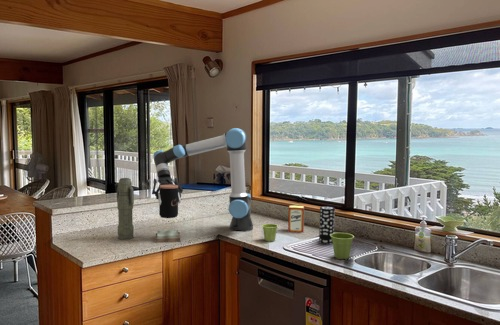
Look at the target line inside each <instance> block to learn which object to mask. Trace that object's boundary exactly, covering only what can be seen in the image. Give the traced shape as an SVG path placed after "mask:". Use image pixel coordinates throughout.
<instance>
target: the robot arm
mask: <svg viewBox="0 0 500 325" xmlns="http://www.w3.org/2000/svg"><path fill="white" fill-rule="evenodd" d="M247 141H248V135H247V132H246V131H245V130H244V129H242V128H239V127H238V128H237V127H234V128H231V129H229V130H228V131H227V132H224V133H223V134H222V135H219V136H214V137H211V138H207V139H203V140H199V141H195V142H191V143H187V144H182V145H181V144H177V145H175V146H173V147H171V148H169V149H167V150H162V149H160V150H155V152H154V153H153V162H154V165H155V170H156V176H157V179H156V178H153V180H152V182H153V186H152V191H151V194H152V195H154V196H155V199H156V200H157V201H158V205H161V198H160V193H159V191H160V185H169V184H170V185H178V188H177V189H178V204H181V201H182V200H181V197H182V193H183V191H184V190H183V187H182V186H181V184H180V183H179V181H178V179H177V178H176V177H174V178H172V176H171V171H170V169H169V168H170V167H169V163H172V162H174V161H176V160H178V159H181V158H182V159H183V158H186V157H190V156H194V155H199V154H202V153H206V152H211V151H214V150H218V149H223V148H226V152H228V153H229V165H230V166H229V167H230V185H231V186H230V189H231V190H230V191H231V192H230V194H229V195H228V198H229V199H228V200H229V203H228V204H229V205H228V213H229V214H230V215H231V216H232V217H231V220H230V223H229V229H230V230H231V229H233V230H232V231H235V230H241V231H240V232H247V231H246V230H249V231H252V230H253V229H254V223H253V220H252V217H251V214H252V213H251V211H252V210H251V209H252V206H251V205H252V200H251V199H252V196H251V193H249V192H248V193H247V191H246V174H245V173H246V172H245V170H246V169H245V152H246V151H247ZM158 183H159V185H158V187H157V186H156V185H157V184H158ZM156 187H157V189H156ZM251 229H252V230H251Z"/></svg>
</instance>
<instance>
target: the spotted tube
mask: <svg viewBox="0 0 500 325" xmlns="http://www.w3.org/2000/svg"><path fill="white" fill-rule="evenodd" d="M335 214H336V208H335V207H333V206H321V207H319V227H318V228H319V232H318V233H319V234H318V243H320V244H321V245H333V242H332V238H331V236H330V235H331V234H333V233H335V218H336V217H335Z"/></svg>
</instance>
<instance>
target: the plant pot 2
mask: <svg viewBox="0 0 500 325" xmlns="http://www.w3.org/2000/svg"><path fill="white" fill-rule="evenodd" d="M330 236H331V238H332V242H333V244H332V248H333V256H334V258H335V259H339V260H343V259H345V260H347V259H349V258H350V256H351V249H352V243H353V242H354V241H353V240H354V238H355V236H354V235H353V234H351V233H348V232H334V233H333V234H331V235H330Z"/></svg>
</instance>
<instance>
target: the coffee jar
mask: <svg viewBox="0 0 500 325" xmlns="http://www.w3.org/2000/svg"><path fill="white" fill-rule="evenodd" d="M159 185H160V184H159ZM177 188H178V185H175V184H174V185H170V184H169V185H160V190H159V192H158V193H160V198H161V205H159V204H158V205H159V210H158V212H159V217H160V218H163V219H175V218H177V216H178V215H179V203H178V189H177Z"/></svg>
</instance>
